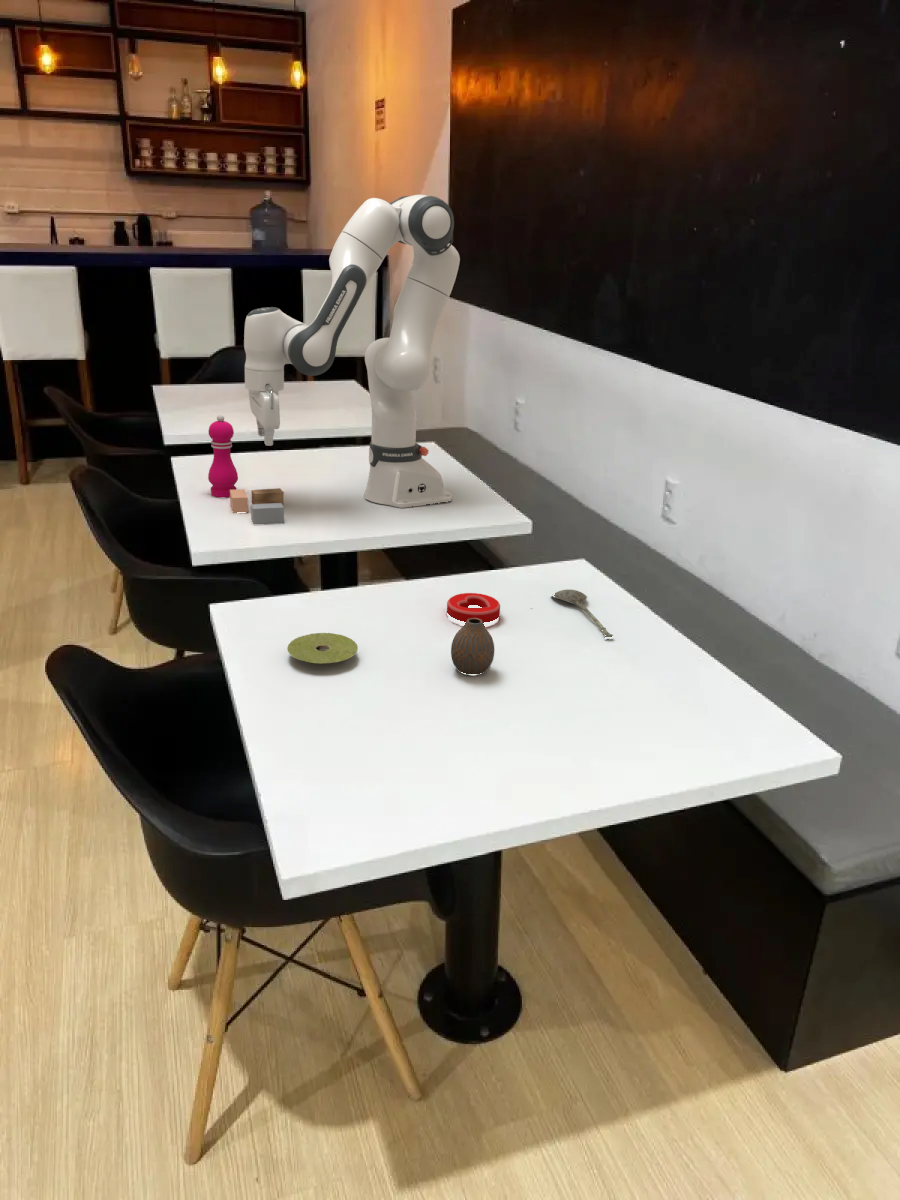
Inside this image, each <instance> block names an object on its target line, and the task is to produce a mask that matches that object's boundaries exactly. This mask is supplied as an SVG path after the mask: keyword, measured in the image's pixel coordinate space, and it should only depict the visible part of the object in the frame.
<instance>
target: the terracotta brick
mask: <svg viewBox="0 0 900 1200" xmlns="http://www.w3.org/2000/svg"><path fill="white" fill-rule="evenodd" d="M248 498H249V497H248V495H247V492H246V490H245V489H244V488H242V489H241V488H240V489H236V490H230V497H229V504H230V505H231V506H230V508H232V509H231V511H233V512H232V514H233V513H237V512H248V513H249V503H248V502H249V499H248Z"/></svg>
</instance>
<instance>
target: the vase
mask: <svg viewBox="0 0 900 1200" xmlns="http://www.w3.org/2000/svg"><path fill="white" fill-rule="evenodd" d="M450 656H451V661H452V664H453V666H454V667H455V669H456V670H457V671H458V670H459V671H460V672H459V671H458V672H459V673H461V672H463V673H466V674H480V673H482V674H484V673H485V672H486V671H487V670H488V669H489V668H490V667H491V666H492V664H493V661H494V658H495V642H494V640H493V636H492V634H490V632H489V630H488V629H487V627H485V626H484V624H483V622H482V620H481V619H478V618H470V619H468V620H467V622H466V623H465V625H464V626H461V628H460V629H459V630H458V631H457V632H456V633H455V635H454V636H453V640H452V642H451V646H450ZM483 672H484V673H483Z"/></svg>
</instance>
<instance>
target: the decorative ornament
mask: <svg viewBox="0 0 900 1200" xmlns="http://www.w3.org/2000/svg"><path fill="white" fill-rule="evenodd" d="M469 605H478V606H480V607H482V608H468V606H469ZM447 613H448V614H449V615H450V616H451V617H453V618H455V619H457V620H460V621H464V622H467V620H468V619H470V618H478V619H481V620H482V622H483V623H484V622H490V621H493V620H495V619H497V618H498V617H499V618H500V616H499V615H500V614H501V604H500V602H499V601H498V600H497V599H496V598H495V597H493V596H490V595H487V594H483V593H476V592H464V593H458V594H456V595H453V596H451V597H450V598H449V599H448V600H447V603H446V614H447Z"/></svg>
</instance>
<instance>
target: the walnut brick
mask: <svg viewBox="0 0 900 1200" xmlns="http://www.w3.org/2000/svg"><path fill="white" fill-rule="evenodd" d="M284 500H285V499H284V491H283V490H282V488H280V487H279V488H263V489H261V488H260V489H251V504H270V503H282V505H283V507H284V508H285V503H284V502H285V501H284Z"/></svg>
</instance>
